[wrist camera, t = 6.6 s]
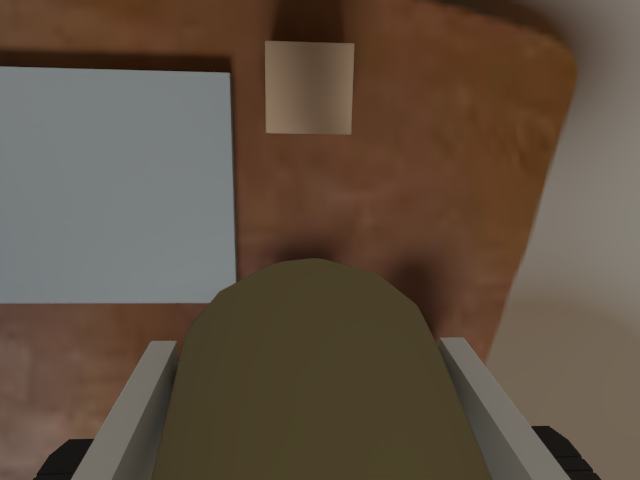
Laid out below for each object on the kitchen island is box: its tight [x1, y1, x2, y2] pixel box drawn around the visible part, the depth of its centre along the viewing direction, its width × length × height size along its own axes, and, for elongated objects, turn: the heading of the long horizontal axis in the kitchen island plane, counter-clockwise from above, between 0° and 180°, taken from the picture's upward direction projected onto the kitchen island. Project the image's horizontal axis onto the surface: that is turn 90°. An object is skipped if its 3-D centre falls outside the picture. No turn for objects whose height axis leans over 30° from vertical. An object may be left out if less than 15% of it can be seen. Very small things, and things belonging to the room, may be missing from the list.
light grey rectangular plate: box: [0, 67, 238, 303], centre depth 32 cm, size 18×16×1 cm
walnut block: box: [265, 41, 354, 134], centre depth 29 cm, size 5×5×5 cm
